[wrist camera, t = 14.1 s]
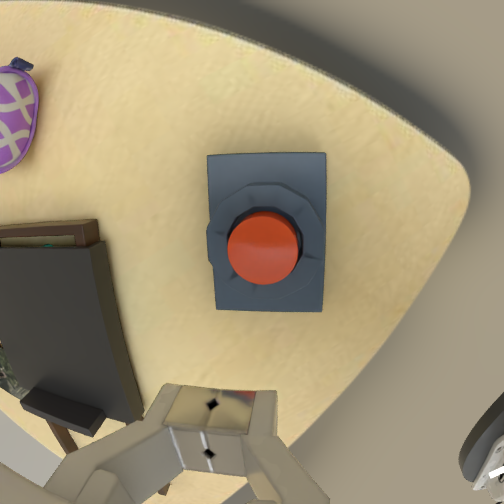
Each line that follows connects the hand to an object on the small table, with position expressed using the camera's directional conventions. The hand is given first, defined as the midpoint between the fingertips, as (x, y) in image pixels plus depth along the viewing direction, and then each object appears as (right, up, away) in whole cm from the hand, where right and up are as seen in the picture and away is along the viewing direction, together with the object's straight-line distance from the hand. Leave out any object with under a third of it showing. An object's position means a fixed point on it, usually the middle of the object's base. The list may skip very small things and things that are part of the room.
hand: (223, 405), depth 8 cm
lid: (-18, -3, +18) cm, 26 cm away
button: (+2, +5, +10) cm, 11 cm away
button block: (+2, +5, +13) cm, 14 cm away
